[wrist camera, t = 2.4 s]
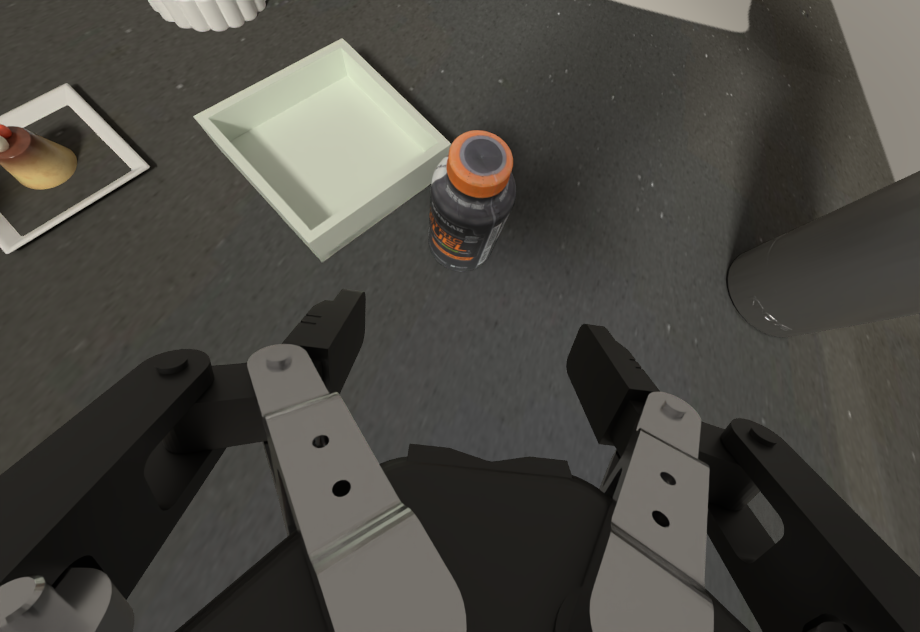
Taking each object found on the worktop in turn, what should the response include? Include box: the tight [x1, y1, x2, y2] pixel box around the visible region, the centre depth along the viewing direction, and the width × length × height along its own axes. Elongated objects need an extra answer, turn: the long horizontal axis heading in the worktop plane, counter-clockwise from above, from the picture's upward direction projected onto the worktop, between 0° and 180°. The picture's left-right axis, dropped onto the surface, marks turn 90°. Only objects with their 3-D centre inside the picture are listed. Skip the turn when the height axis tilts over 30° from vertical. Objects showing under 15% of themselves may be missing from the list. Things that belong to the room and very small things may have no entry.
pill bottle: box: [429, 130, 516, 272], centre depth 25 cm, size 6×6×11 cm
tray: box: [193, 38, 451, 262], centre depth 29 cm, size 15×15×4 cm
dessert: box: [0, 83, 150, 254], centre depth 26 cm, size 12×12×5 cm
